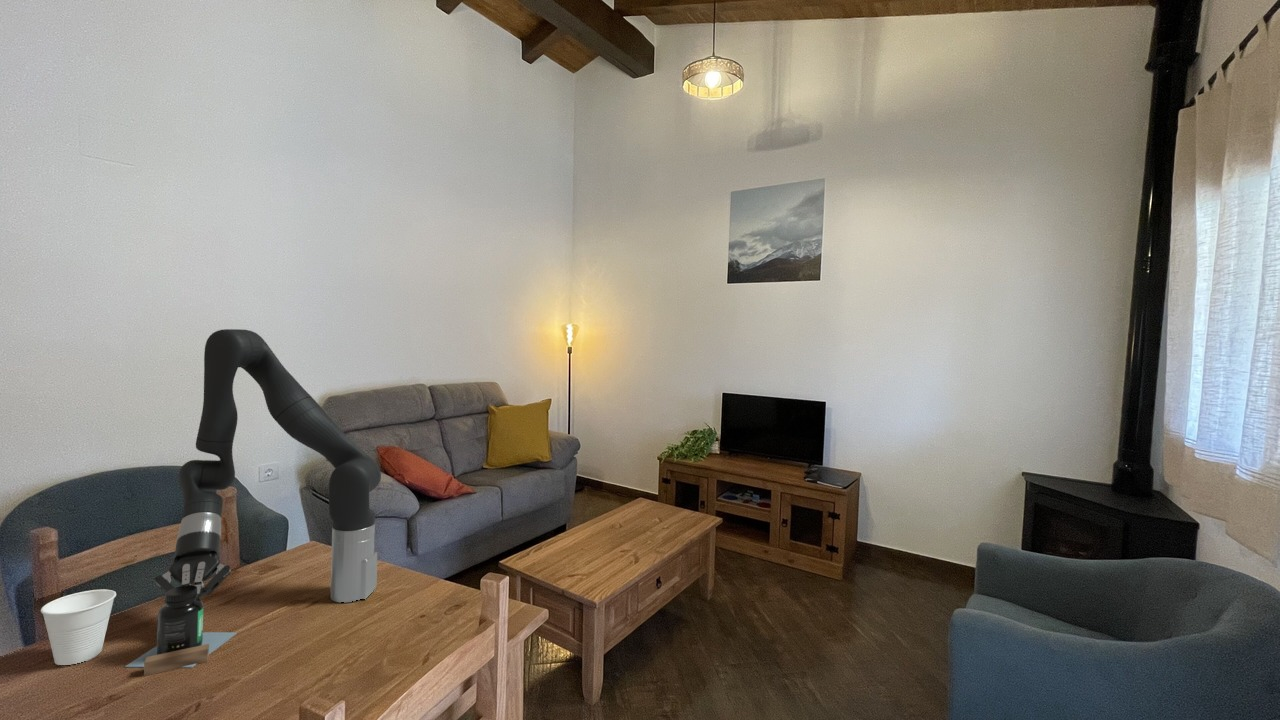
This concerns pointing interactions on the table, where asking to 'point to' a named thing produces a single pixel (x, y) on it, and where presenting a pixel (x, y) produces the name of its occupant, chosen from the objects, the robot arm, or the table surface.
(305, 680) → the table surface
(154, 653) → the mat
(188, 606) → the supplement bottle
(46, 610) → the cup
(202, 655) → the rail
